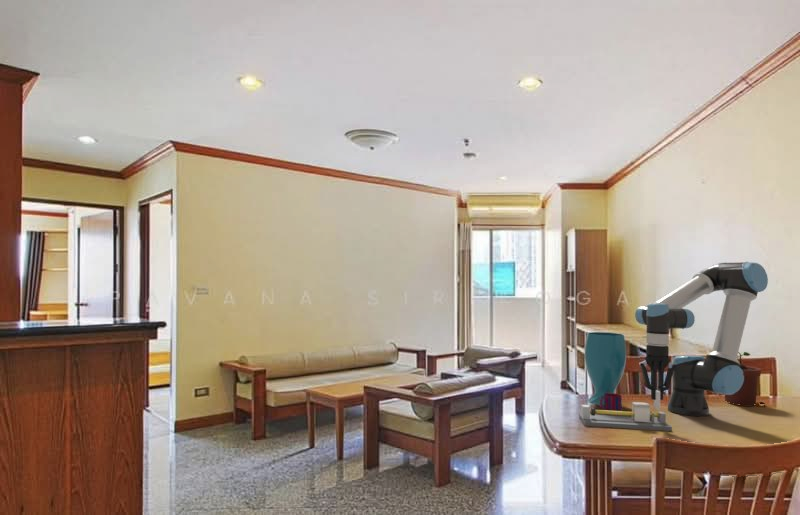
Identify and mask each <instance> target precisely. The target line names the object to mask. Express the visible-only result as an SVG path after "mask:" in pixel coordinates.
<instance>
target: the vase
mask: <svg viewBox="0 0 800 515" xmlns="http://www.w3.org/2000/svg"><path fill="white" fill-rule="evenodd" d="M585 337H586V338H585V343H584V344H585V345H584V364H585V369H586V372H587V374H588V377H589V379H590V381H591V384H592V386H593V389H594V394H593V395H592V396H591V397H589V398H588V399H587V401H588V403H589V404H594V405H597V406H600V399H601V398H602V397H604V394H605V393H614V394H616V389H617V388H618V386H619V384H620V382H621V379H622V377H623V376H624V372H625V368H626V363H627V347H626V345H627V344H626V339H625V335H624V334H622V333H614V332H600V331H596V332H595V331H594V332H593V331H592V332H591V331H590V332H587V333H586V336H585ZM602 405H603V406H604V399H603V401H602ZM621 406H623V403H622V402H621Z"/></svg>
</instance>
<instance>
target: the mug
mask: <svg viewBox="0 0 800 515" xmlns="http://www.w3.org/2000/svg"><path fill="white" fill-rule="evenodd" d="M603 399H604V405H602V401H603ZM621 403H622V395H621V394H618V393H615V394H614V393H605V394H604V397H602V398H601V399H600V405H599V406H600V408H601V410H607V411H622V405H621Z"/></svg>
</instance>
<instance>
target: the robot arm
mask: <svg viewBox="0 0 800 515" xmlns="http://www.w3.org/2000/svg"><path fill="white" fill-rule="evenodd" d="M768 278H769V277H768V274H767V271H766V270H765V268H764V266H763V265H761V264H760V263H758V262H752V261H751V262H749V261H744V262H740V261H739V262H719V263H716V264H713V265H710V266H708V267H707V268H704V269H703V270H701V271H699V272H697V273H696V274H694V275H693V276H692V279H691V280H689V281H688V282H686V283H684V284H683V285H680V287H677V288H676V289H674V290H673V291H671V292H670V293H668V294H667V295H665V296H663V297H662V298H660V299H658V300H657V301H654V302H651V303H648V304H647V305H644V306H642V305H641V306H639V307H637V309H636V310H635V312H634V318H635V320H636V322H637V323H639V324H640V325H645V326H646V346H645V350H646V351H645V352H646V356H645V358H644V360H643V361H641V362H639V361H638V366H639V367H640V369H641V373H642V377H643V381H644V385H645V388H647V389H648V390H650V399H651V400H653V408H654V409H655V410H661V401H663V399H664V392H665V391H668V390H669V389H670V385H671V381H672V391H671V394H670V397H669V400H668V403H667V410H668V411H669V412H672V413H674V414H679V415H684V416H693V417H705V416H709V415H710V407H709V404H708V402H707V399H706V396H705V391H708V392H711V393H716V394H719V395H724V396H725V395H731V394H734V393H735V392H737V391H738V390H739V389H740V388H741V386H742V384H743V381H744V375H743V371H742V369H741V368H740V367H739V366H740V360H738V354H739V353H738V352H740V351H739V350H740V346H741V343H742V338H743V334H744V330H745V325H746V322H747V319H748V315H749V310H750V306H751V304H752V303H751V302H752V301H754V300H756V299H757V298H758V293H761V292H764V291H765V290H766V289H767V287H768V284H769V283H768V282H769V279H768ZM719 291H720V292H721V291H723V293H724V295H725V299H724V300H725V301H724V304H723V308H722V311H721V315H720V319H719V323H718V326H717V331H716V335H715V338H714V342H713V343H714V344H713V346H712V351H711V352H708V353H707V354H706V356H705V357H704V356H703V355H679V356H677V355H676V356H674V357H673V359H672V362H671V360H670V358H669V357H670V356H669V355H670V354H669V352H670V348H669V346H668V345H670V343H669V340H670V339H669V337H670V336H669V334H670V332H669V330H671V329H682V330H684V329H689V328H692V327H693V326H694V324H695V321H696V320H695V314H694V312H693V311H692V310H690V309H688V308H685V307H686V306H688V305H689V304H691V303H692V302H694V301H696V300H698V299H699V298H700V297H702V296H704V295H710V294H712V293H714V292H719ZM647 366H648V367H649V368H650V377H649V372H648V369H647ZM666 368H667V371H666V374H665V369H666ZM664 374H665V378H664Z"/></svg>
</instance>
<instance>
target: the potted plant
mask: <svg viewBox="0 0 800 515" xmlns="http://www.w3.org/2000/svg"><path fill="white" fill-rule="evenodd" d="M738 354H739V363H740V366H739V367H740V368H741V369H742V371H743V375H744V381H743V384H742V386H741V388H740V389H739V390H738V391H737V392H735V393H734V394H731V395H725V394H724V401H727V402H730V403H734V404H740V405H754V404H757V392H758V390H757V389H758V378H759V377H761V376H762V375H761V374H762V369H761V368H759V367H755V366H748V365H745V364H742V356H745V357H749V356H751V353H749V352H747V351H745V352H744V351H743V354H741V353H740V351H738ZM759 403H760V404H766V403H765V402H763V401H759Z"/></svg>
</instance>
